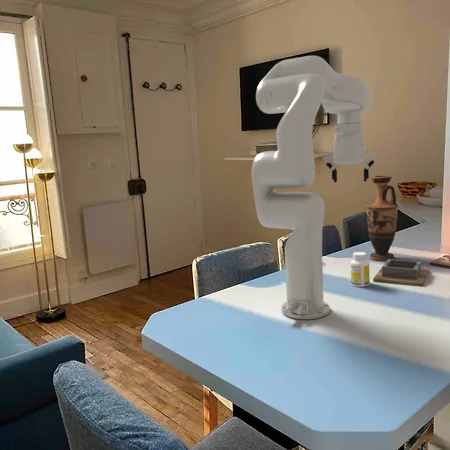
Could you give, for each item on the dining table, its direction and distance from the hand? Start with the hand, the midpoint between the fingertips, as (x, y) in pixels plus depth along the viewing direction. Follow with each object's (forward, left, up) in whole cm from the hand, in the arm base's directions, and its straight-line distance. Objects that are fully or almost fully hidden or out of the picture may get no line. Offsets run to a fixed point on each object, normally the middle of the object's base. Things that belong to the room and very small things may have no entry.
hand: (350, 181), depth 148 cm
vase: (+15, -7, -30) cm, 34 cm away
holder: (-5, -17, -30) cm, 35 cm away
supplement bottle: (-17, -7, -30) cm, 35 cm away
